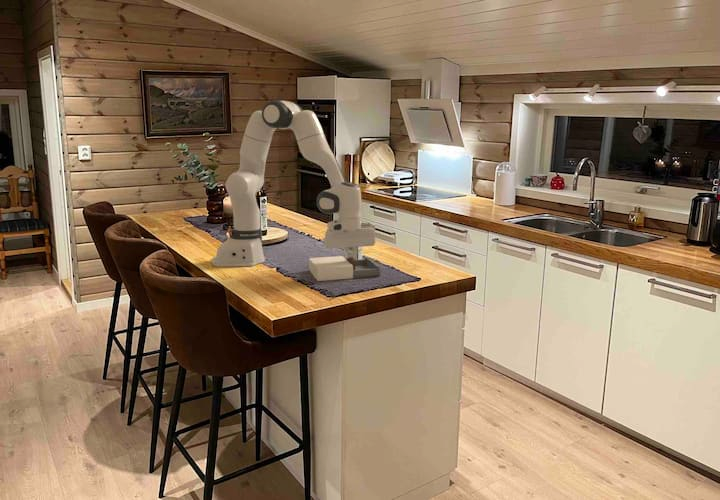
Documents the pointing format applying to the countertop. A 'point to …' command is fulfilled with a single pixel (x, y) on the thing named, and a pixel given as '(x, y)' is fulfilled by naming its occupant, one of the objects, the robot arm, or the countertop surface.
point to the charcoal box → (366, 268)
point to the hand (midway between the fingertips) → (350, 257)
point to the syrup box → (356, 253)
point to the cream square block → (330, 268)
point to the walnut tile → (351, 262)
